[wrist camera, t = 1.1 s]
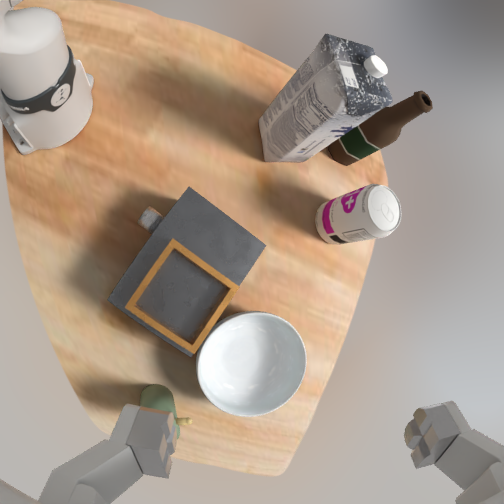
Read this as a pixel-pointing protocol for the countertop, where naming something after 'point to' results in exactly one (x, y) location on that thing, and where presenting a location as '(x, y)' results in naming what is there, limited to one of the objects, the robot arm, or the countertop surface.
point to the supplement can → (359, 215)
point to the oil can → (162, 403)
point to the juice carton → (324, 100)
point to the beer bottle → (378, 129)
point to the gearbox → (186, 271)
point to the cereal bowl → (251, 363)
